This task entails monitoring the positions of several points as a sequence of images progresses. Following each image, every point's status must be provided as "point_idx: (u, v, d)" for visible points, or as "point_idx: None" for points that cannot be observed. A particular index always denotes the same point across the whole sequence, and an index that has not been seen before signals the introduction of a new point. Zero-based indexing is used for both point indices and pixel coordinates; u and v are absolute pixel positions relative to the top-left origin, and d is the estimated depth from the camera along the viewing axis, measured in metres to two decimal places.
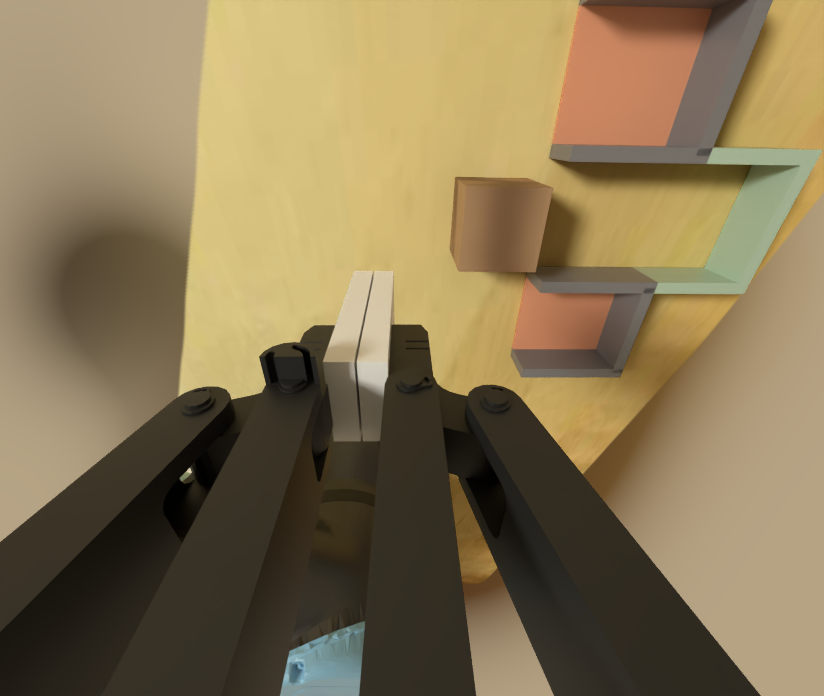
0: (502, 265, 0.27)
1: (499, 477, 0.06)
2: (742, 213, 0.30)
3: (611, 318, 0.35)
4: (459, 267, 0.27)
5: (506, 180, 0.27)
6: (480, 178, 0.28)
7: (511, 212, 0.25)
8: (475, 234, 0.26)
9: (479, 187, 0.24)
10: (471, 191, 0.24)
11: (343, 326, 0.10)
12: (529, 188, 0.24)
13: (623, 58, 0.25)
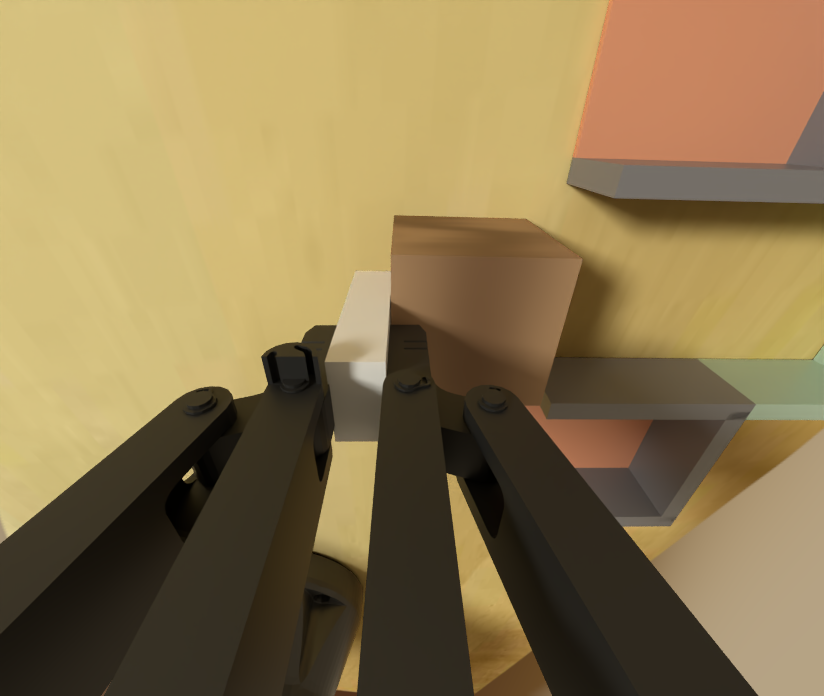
0: None
1: (497, 477, 0.06)
2: None
3: (657, 434, 0.22)
4: None
5: (486, 227, 0.14)
6: (438, 220, 0.15)
7: (491, 304, 0.12)
8: None
9: (420, 256, 0.11)
10: (403, 264, 0.11)
11: (345, 326, 0.10)
12: (531, 259, 0.11)
13: None
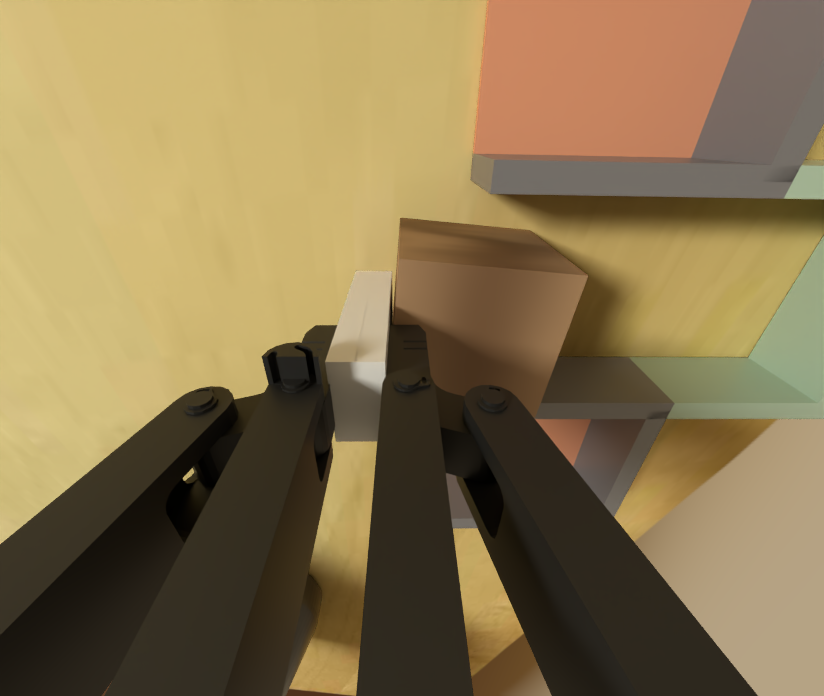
0: None
1: (496, 477, 0.06)
2: None
3: (594, 433, 0.22)
4: None
5: (492, 236, 0.14)
6: (445, 226, 0.15)
7: (495, 314, 0.12)
8: None
9: (428, 262, 0.11)
10: (410, 269, 0.11)
11: (345, 326, 0.10)
12: (537, 273, 0.11)
13: None
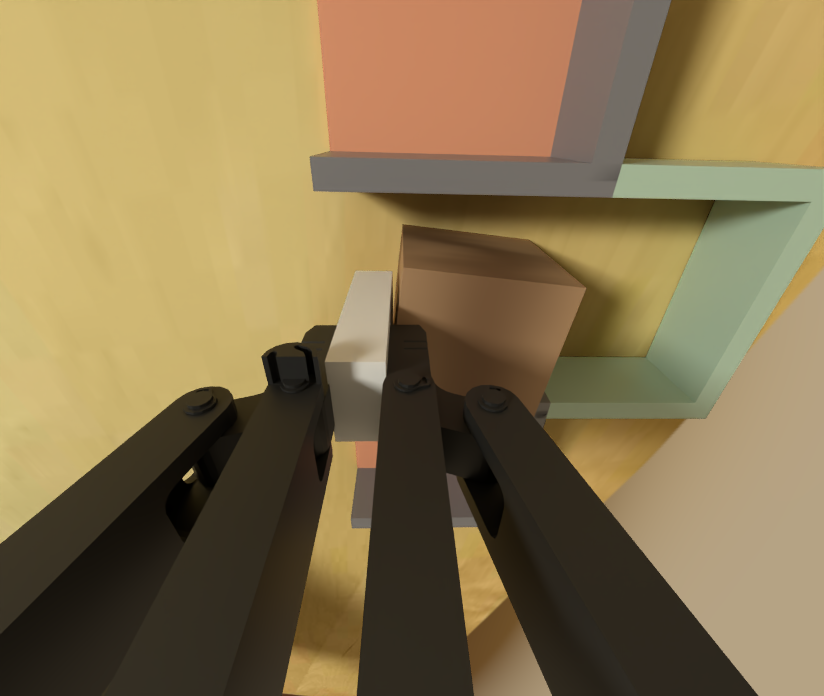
0: None
1: (497, 477, 0.06)
2: (702, 280, 0.16)
3: None
4: None
5: (492, 246, 0.15)
6: (446, 234, 0.15)
7: (495, 323, 0.12)
8: None
9: (432, 271, 0.11)
10: (414, 278, 0.11)
11: (345, 326, 0.10)
12: (537, 284, 0.11)
13: None
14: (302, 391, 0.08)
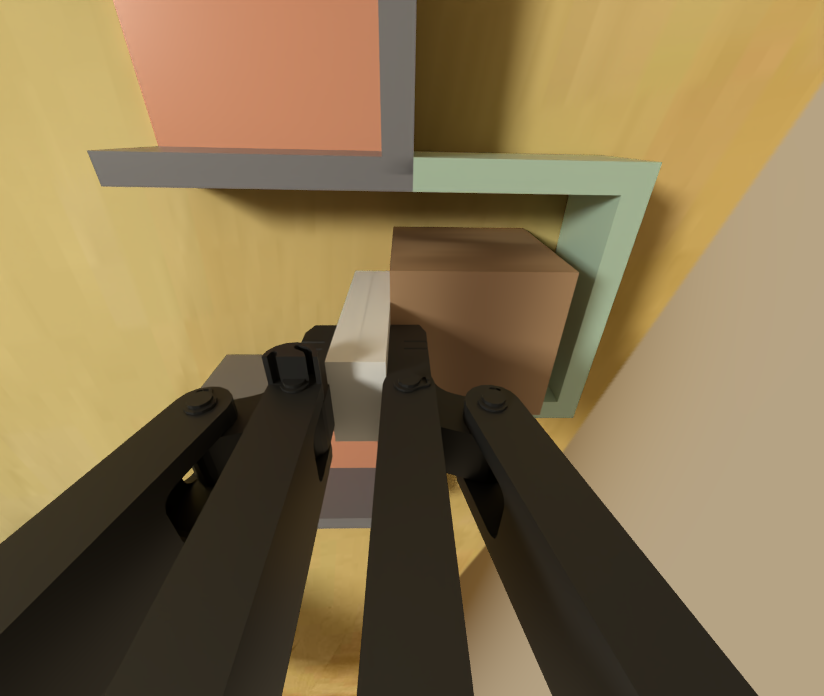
0: None
1: (497, 477, 0.06)
2: None
3: None
4: None
5: (484, 238, 0.14)
6: (437, 231, 0.15)
7: (489, 317, 0.12)
8: None
9: (418, 272, 0.11)
10: (402, 280, 0.11)
11: (345, 326, 0.10)
12: (527, 273, 0.11)
13: None
14: (302, 391, 0.08)
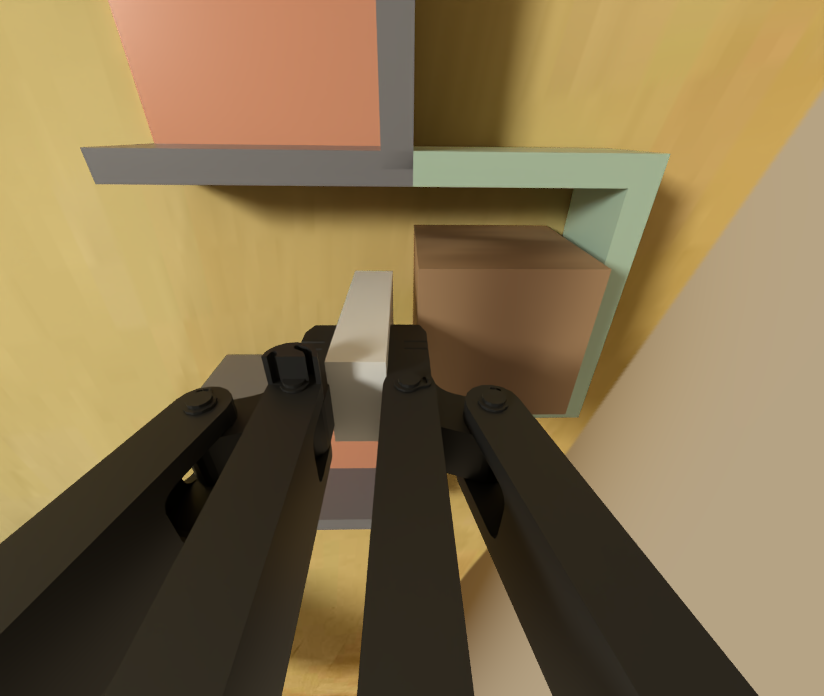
0: None
1: (497, 477, 0.06)
2: None
3: None
4: None
5: (508, 236, 0.14)
6: (459, 229, 0.15)
7: (518, 315, 0.12)
8: (444, 355, 0.12)
9: (448, 270, 0.11)
10: (430, 278, 0.11)
11: (344, 326, 0.10)
12: (559, 271, 0.11)
13: None
14: (302, 391, 0.08)
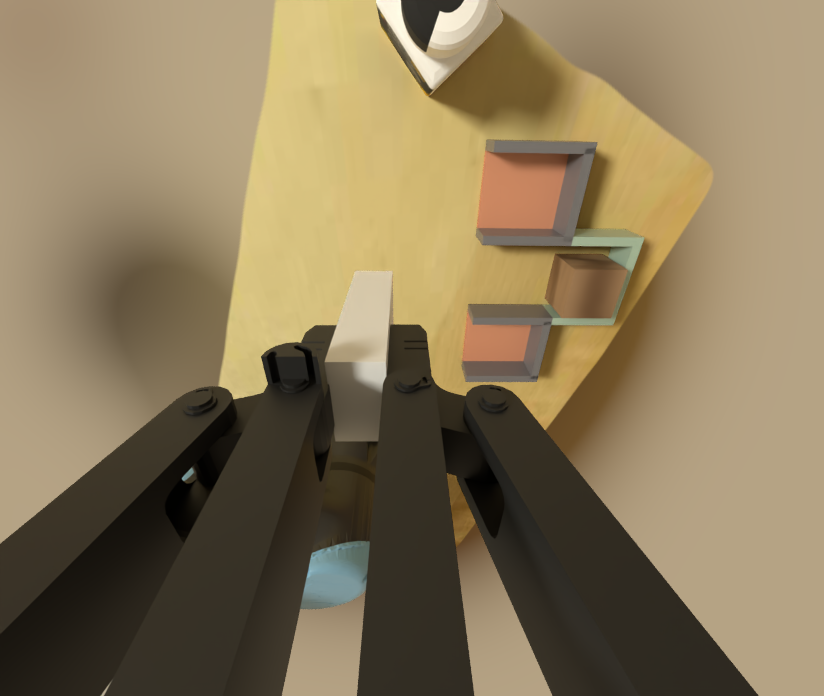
0: (590, 314, 0.42)
1: (497, 477, 0.06)
2: None
3: (530, 340, 0.49)
4: (562, 315, 0.42)
5: (591, 258, 0.42)
6: (573, 255, 0.43)
7: (600, 283, 0.40)
8: (576, 296, 0.40)
9: (582, 269, 0.39)
10: (577, 272, 0.39)
11: (344, 326, 0.10)
12: (613, 270, 0.39)
13: (517, 179, 0.39)
14: (302, 391, 0.08)
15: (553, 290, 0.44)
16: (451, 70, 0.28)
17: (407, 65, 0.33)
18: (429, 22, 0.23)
